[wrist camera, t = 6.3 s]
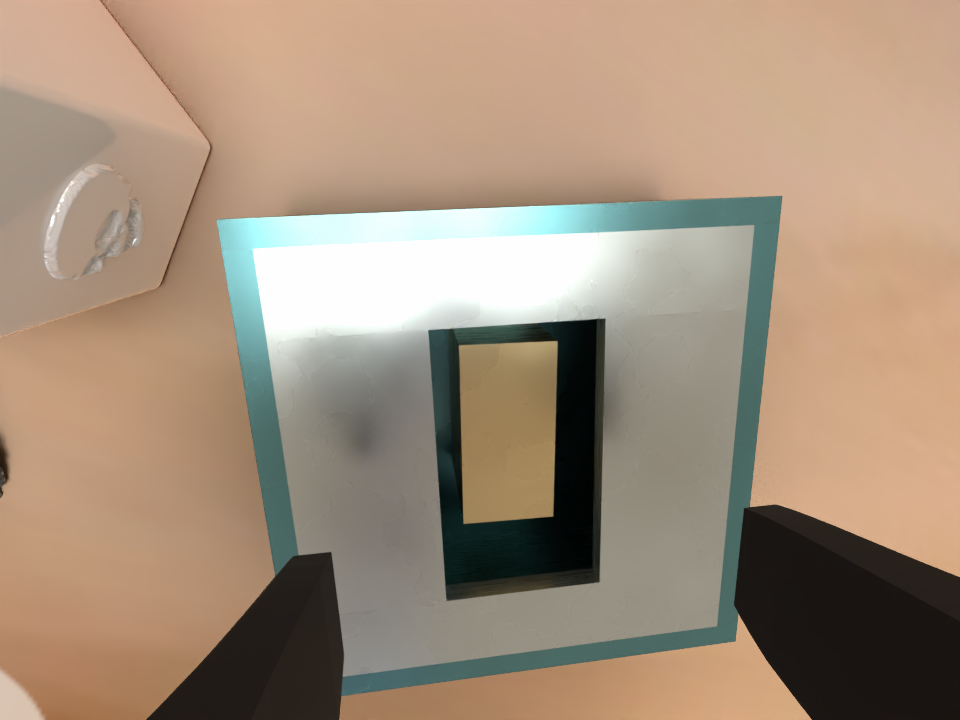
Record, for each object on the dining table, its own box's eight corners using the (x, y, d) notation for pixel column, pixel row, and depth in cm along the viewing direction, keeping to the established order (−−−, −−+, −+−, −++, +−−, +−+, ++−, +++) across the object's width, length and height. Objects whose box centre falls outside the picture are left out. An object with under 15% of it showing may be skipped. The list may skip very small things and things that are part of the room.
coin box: (646, 523, 21) (735, 641, 15) (328, 559, 20) (295, 702, 14) (661, 200, 18) (782, 196, 12) (282, 215, 17) (217, 219, 11)
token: (523, 454, 19) (553, 516, 15) (451, 459, 19) (463, 524, 15) (525, 312, 18) (557, 341, 14) (447, 315, 17) (458, 345, 14)
